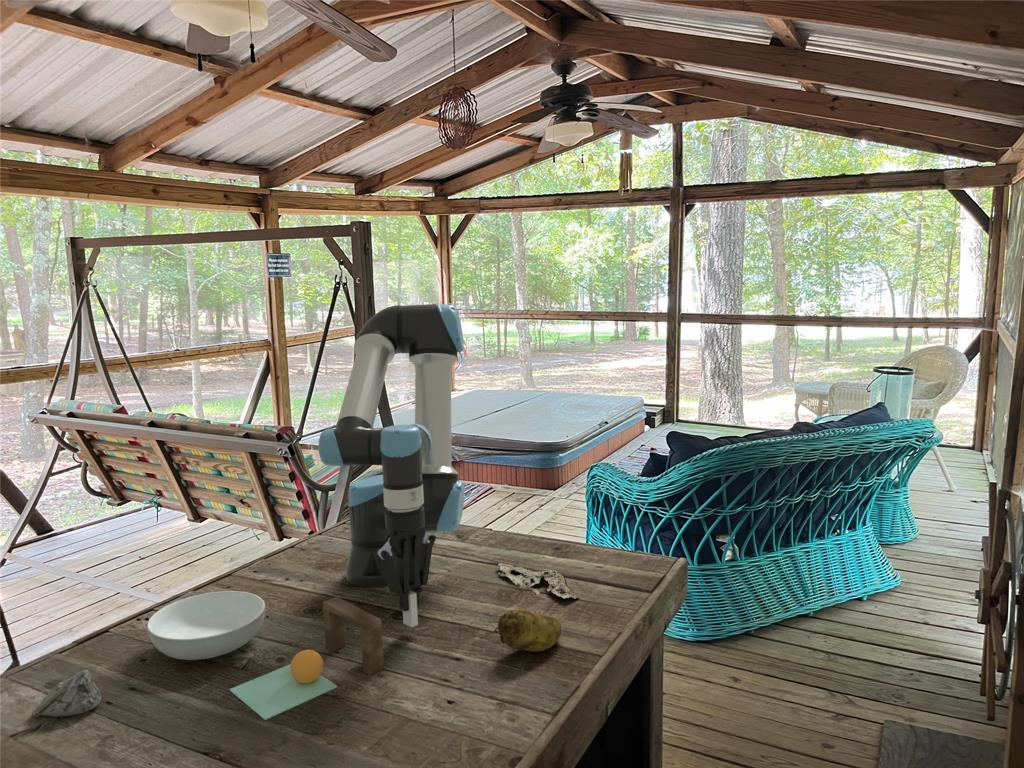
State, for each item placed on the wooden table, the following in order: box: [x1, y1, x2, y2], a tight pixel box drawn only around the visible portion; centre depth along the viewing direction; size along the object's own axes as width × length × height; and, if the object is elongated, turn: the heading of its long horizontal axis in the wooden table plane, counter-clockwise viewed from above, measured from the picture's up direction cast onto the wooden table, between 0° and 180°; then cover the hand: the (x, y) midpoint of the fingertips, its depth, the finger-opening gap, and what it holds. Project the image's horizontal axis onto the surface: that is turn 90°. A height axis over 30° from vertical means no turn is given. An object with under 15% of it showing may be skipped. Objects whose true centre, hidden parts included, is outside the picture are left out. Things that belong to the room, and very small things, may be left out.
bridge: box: [322, 596, 385, 676], centre depth 135 cm, size 3×14×9 cm, turn 45°
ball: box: [290, 649, 324, 684], centre depth 128 cm, size 6×6×6 cm
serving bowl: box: [146, 590, 266, 661], centre depth 142 cm, size 21×21×7 cm
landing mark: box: [228, 663, 338, 721], centre depth 126 cm, size 13×13×1 cm
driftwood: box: [496, 562, 580, 600], centre depth 166 cm, size 25×10×5 cm
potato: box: [497, 608, 562, 653], centre depth 136 cm, size 8×13×8 cm, turn 107°
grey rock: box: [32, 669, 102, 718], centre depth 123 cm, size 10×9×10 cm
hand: (410, 624), depth 144 cm, fingers closed
